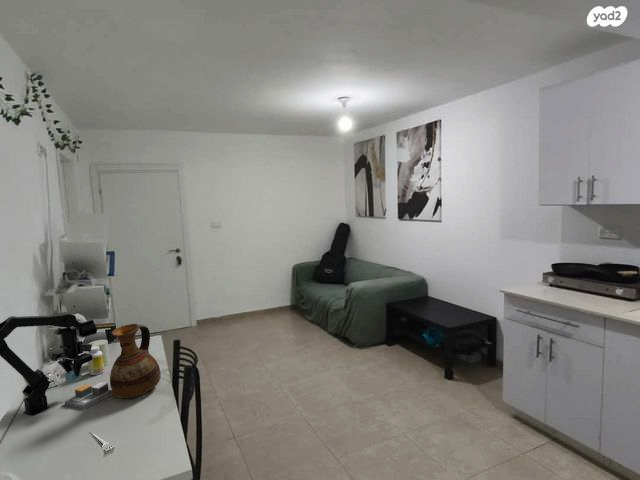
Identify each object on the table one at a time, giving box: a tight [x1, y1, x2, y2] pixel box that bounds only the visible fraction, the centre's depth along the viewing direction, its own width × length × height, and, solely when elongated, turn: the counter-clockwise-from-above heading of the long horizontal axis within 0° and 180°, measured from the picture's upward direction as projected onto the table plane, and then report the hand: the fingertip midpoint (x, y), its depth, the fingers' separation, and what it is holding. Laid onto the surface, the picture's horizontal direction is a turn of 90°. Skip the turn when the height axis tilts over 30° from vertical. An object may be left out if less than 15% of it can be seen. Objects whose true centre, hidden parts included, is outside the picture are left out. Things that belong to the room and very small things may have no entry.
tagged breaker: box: [74, 383, 92, 398], centre depth 163 cm, size 4×4×3 cm
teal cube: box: [64, 370, 82, 383], centre depth 166 cm, size 4×4×4 cm
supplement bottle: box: [87, 346, 105, 376], centre depth 189 cm, size 7×7×13 cm
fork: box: [92, 433, 116, 452], centre depth 133 cm, size 3×20×2 cm, turn 51°
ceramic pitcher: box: [109, 323, 162, 399], centre depth 167 cm, size 20×20×30 cm
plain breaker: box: [91, 381, 110, 396], centre depth 164 cm, size 4×4×3 cm
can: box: [88, 339, 111, 367], centre depth 199 cm, size 9×9×12 cm
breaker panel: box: [64, 389, 114, 410], centre depth 163 cm, size 13×12×2 cm
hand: (74, 376), depth 166 cm, fingers closed on teal cube, 4 cm apart
